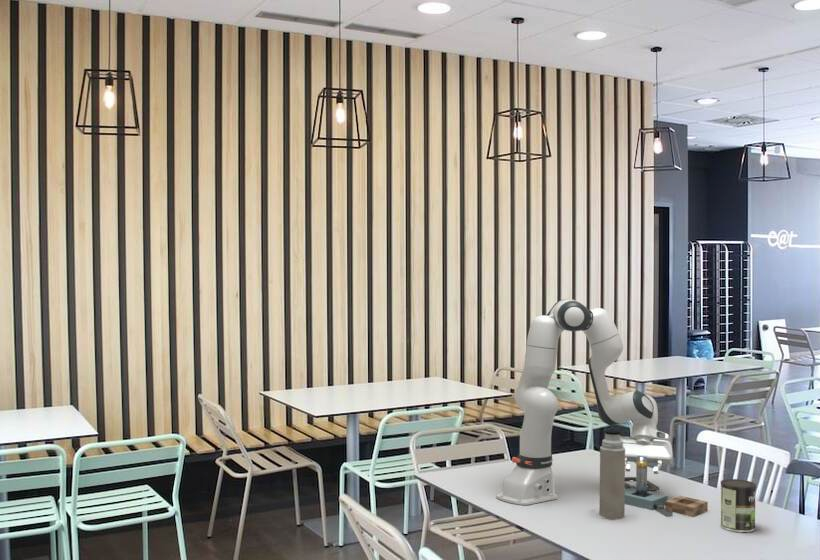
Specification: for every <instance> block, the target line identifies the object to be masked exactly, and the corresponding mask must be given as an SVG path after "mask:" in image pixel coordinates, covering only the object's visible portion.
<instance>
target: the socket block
mask: <svg viewBox="0 0 820 560" xmlns="http://www.w3.org/2000/svg"><path fill="white" fill-rule="evenodd" d="M708 503H709V502H708V501H706V500H702V499H697V498H692V497H687V496H684V495H678V496H675V497H673V498H671V499H667V501H665V505H664V508H665V509H667V510H669V511H671V512H672V513H674V514H678V515H683V514H684V516H687V515H688V516H687V517H692V518H694V517H696V516H698V515H701V514H702V513H705V512H708Z"/></svg>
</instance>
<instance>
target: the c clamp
mask: <svg viewBox="0 0 820 560" xmlns="http://www.w3.org/2000/svg"><path fill="white" fill-rule="evenodd" d="M630 480H633V481H632V482H636V476H625V487H626V489H629V488H636V485H635V486H634V485H631V484H629V482H631V481H630ZM647 486H648V487H647V491H653V492H658V491H660V487H659V486H658V485H656V484H655V483H653V482H651V481H649V480H648V479H647ZM657 490H658V491H657Z"/></svg>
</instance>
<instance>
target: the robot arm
mask: <svg viewBox="0 0 820 560" xmlns="http://www.w3.org/2000/svg"><path fill="white" fill-rule="evenodd" d="M564 331H568V332H579V331H582V332H583V333H584V335H585V336H586V339H587V341H588V344H589V346H590V351H591V352H590V353H591V354H590V355H591V356H590V357H589V359H588V369H589V374H590V379H591V384H592V387H593V391H594V396H595V400H596V407H597V415H598V417H599V420H601V422H603V423H604V424H606V425H607V426H610V427H614V426H616V425H619V424H622V423H625V422H630V421H632V426H631V434H630V436H629V435H628V436H627V435H625V436H624V435H620V440H622V441H623V447H624V448H625V472H627V473H629V472H631V465H630V464H628V462H632V463H633V462H634V463H636V456H640V455H641V456H647V464H657V465H656V466H654V467H653V474H654V475H659V470H661V468H662V467H663V465H669V466H670V465H671V464H673V463H674V454H673V446H672V443H671V441H670V435H669V434H668V433H666V432H663V431H660V430H658V428H657V425H658V423H659V422H658V421H659V411H658V405H657V401H656V400H655V399H654V397H652V396H651V395H646V394H645V393H643V392H642V391H640V390H633V391H629V392H624V393H622V394H618V395H613V396H612V395H611V394H610V391H609V387H608V383H607V379H606V371H607V369H608V367H610V366H611V365H612V364H614V362H616V361H617V360H618V359H619V358H620V357H621V355H622V353H623V351H624V343H623V340H622V337H621V335H620V332H619V329H618V328H617V326H616V324H615V322H614V319H613V318H612V317H611V315H610V314H609V312H608V311H607V310H606V309H604V308H601V307H597V308H595V307H594V308H591V309H589V308H588V307H587V306H585V305H584V304H583V303H581V302H579V301H577V300H575V299H569V298H565V299H564V298H563V299H560V300H558V301H557V302H555V303H554V305H553V306H552V307H551V308H550V310H549V311H548V312H547V314H546V315H545V314H543V315H538V316H535V317H534V318H533V319H532V321H531V323H530V326H529V330H528V334H527V337H526V345H525V346H526V347H525V353H524V354H525V355H524V363H523V367H522V371H521V372H522V373H521V376H520V379H519V382H518V386H517V388H516V389H515V391H514V401H515V404H516V405H517V407H518V408H519V409H520V410H521V411H522V412H523V413H524V414H523V415H524V416H523V422H522V426H521V429H520V431H519V453H518V455H517V457H516V456H513V457H512V458H511V462H512V463H514V464H516V465H515V467H514V468H513V470H512V471H510V473H509V475H507V476H506V478H505V479H504V481H503V486H502V491H500V492H499V493H497V494H496V495H495V498H496V499H497V500H500V501H503V502H505V503H509V504H515V505H521V506H530V505H533V504H538V503H544V502H549V501H553V500H558V495H557V494H556V488H555V487H556V486H555V476H554V475H555V474H554V473H553V470H552V466H553V455H552V430H553V425H554V420H555V415H556V414H557V412H558V410H559V401H558V398H557V396H556V395H555V394H554V392H552V391H551V390H550V389H549V385H550V382H551V379H552V376H553V374H554V372H555V371H556V366H557V356H558V347H559V346H558V345H559V340H560V336H561V334H562V333H563V332H564Z"/></svg>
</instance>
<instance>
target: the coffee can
mask: <svg viewBox="0 0 820 560" xmlns="http://www.w3.org/2000/svg"><path fill="white" fill-rule="evenodd" d="M756 487H757V485H756V483H755V482H752V481H750V480H744V479H736V478H727V479H723V480H720V528H722V529H723V528H724V529H723V530H726V531H729V530H730V532H733V531H734V533H741V532H747V533H752V532H751V531H753V532H755V531H756ZM754 530H755V531H754Z"/></svg>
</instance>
